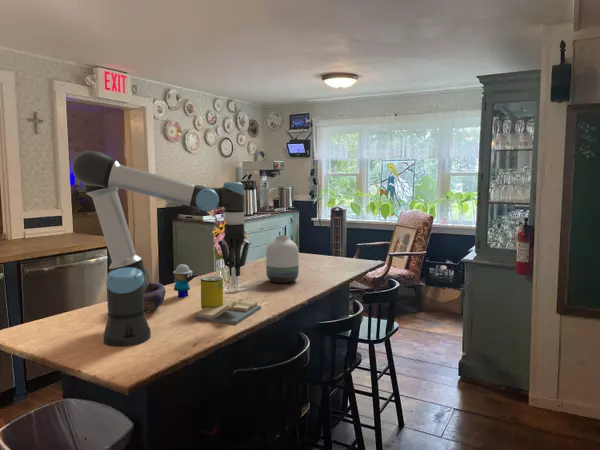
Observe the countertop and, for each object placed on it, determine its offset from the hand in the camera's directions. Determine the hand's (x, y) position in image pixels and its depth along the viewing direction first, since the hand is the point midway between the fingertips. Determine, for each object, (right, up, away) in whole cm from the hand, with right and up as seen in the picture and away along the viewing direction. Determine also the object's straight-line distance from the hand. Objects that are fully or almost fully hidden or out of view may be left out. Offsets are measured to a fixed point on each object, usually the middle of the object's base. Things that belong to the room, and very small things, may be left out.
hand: (235, 284), depth 177 cm
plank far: (+1, -11, +13) cm, 17 cm away
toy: (-29, -10, +35) cm, 46 cm away
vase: (+16, -7, +65) cm, 68 cm away
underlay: (-4, -13, +9) cm, 16 cm away
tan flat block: (-3, -10, +2) cm, 10 cm away
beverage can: (-11, -11, +14) cm, 21 cm away
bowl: (-40, -13, +13) cm, 44 cm away
